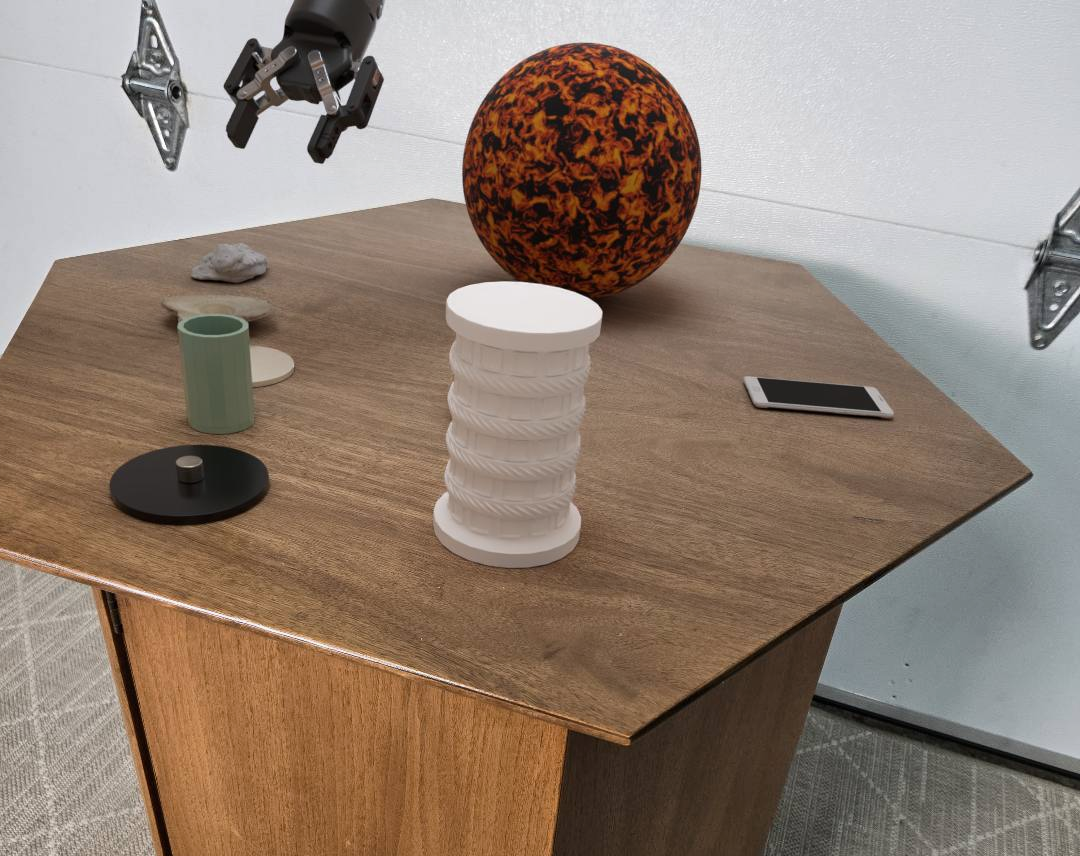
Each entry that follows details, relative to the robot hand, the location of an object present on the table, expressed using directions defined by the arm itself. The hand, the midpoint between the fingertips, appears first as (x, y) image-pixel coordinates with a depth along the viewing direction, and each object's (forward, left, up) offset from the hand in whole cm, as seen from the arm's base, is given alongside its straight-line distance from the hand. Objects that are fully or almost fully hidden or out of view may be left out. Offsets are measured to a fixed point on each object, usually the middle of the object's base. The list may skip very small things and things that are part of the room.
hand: (274, 150), depth 89 cm
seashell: (-14, +4, -21) cm, 26 cm away
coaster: (-3, -3, -21) cm, 22 cm away
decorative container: (+35, -12, -21) cm, 42 cm away
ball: (+8, +44, -21) cm, 50 cm away
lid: (+12, -23, -21) cm, 33 cm away
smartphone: (+46, +32, -21) cm, 60 cm away
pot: (+4, -12, -21) cm, 25 cm away
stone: (-27, +18, -21) cm, 39 cm away
